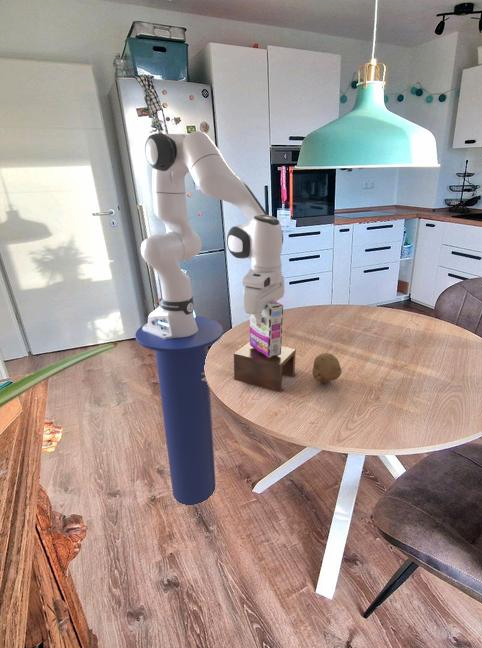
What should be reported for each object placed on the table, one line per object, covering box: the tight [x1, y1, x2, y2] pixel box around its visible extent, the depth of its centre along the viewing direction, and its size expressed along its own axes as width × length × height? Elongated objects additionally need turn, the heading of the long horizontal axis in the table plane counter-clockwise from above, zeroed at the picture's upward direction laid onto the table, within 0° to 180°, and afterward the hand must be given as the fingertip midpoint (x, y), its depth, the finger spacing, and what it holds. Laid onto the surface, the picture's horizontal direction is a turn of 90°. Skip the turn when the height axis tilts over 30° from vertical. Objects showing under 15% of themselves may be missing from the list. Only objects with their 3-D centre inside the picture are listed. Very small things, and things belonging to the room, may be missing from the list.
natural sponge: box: [311, 352, 343, 383], centre depth 123 cm, size 9×9×10 cm
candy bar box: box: [249, 301, 284, 358], centre depth 119 cm, size 11×5×16 cm, turn 37°
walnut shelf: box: [233, 341, 297, 393], centre depth 125 cm, size 16×12×9 cm
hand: (265, 318), depth 118 cm, fingers closed on candy bar box, 6 cm apart
